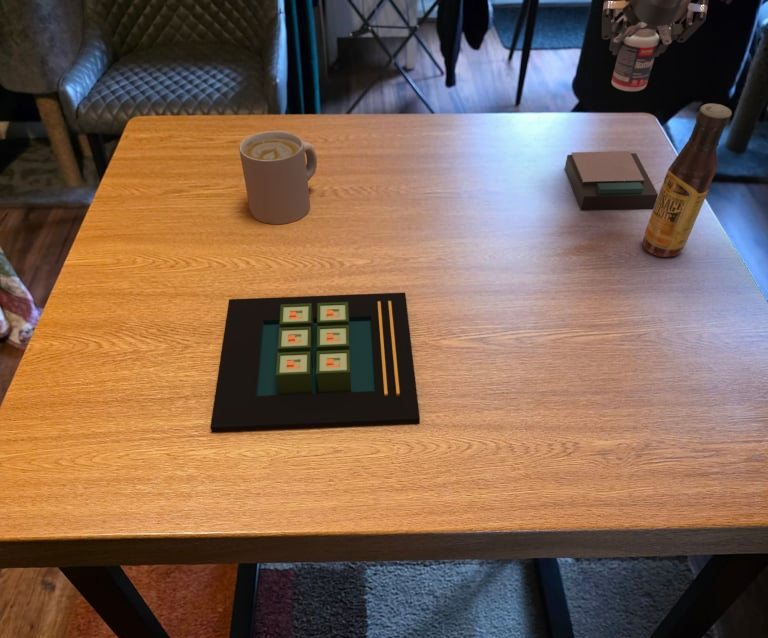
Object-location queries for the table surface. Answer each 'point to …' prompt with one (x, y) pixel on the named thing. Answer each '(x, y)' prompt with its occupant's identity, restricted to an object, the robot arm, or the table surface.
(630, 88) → the pill bottle
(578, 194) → the scale
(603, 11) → the robot arm
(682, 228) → the sauce bottle
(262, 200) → the coffee mug
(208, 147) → the table surface
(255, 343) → the sushi
